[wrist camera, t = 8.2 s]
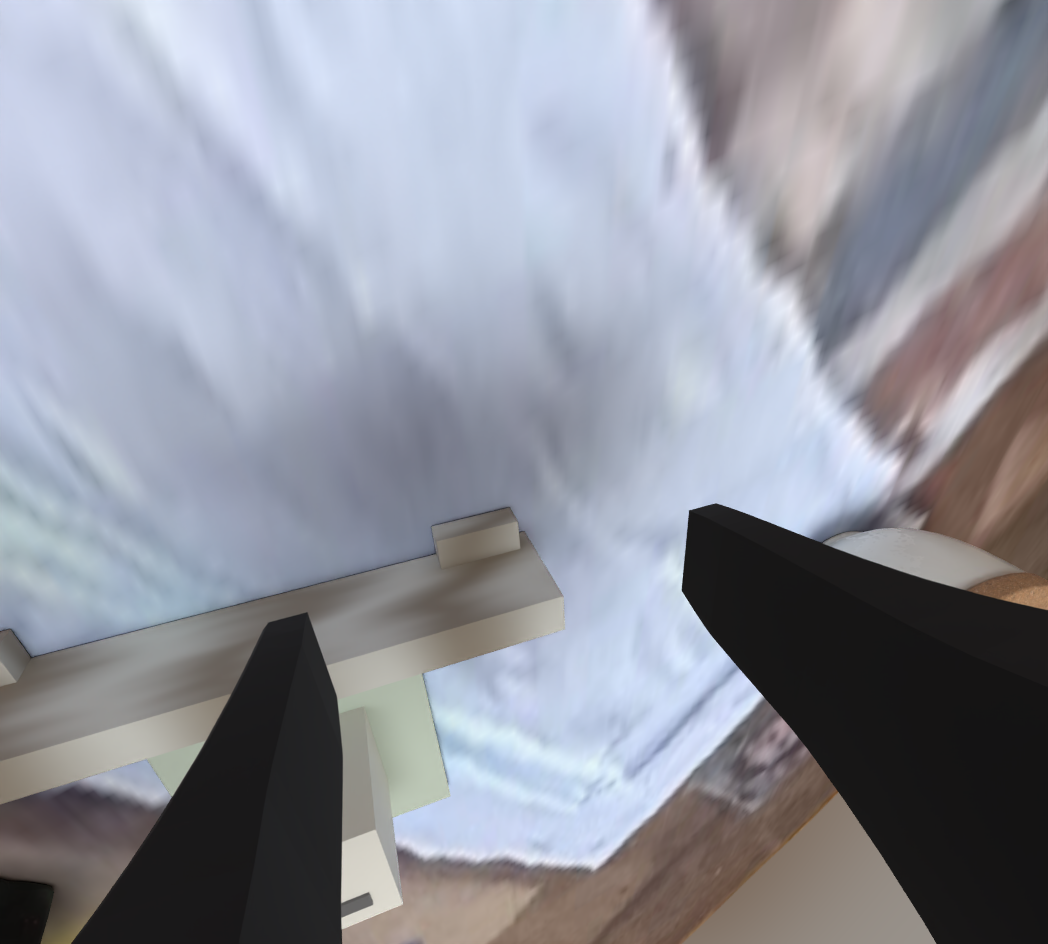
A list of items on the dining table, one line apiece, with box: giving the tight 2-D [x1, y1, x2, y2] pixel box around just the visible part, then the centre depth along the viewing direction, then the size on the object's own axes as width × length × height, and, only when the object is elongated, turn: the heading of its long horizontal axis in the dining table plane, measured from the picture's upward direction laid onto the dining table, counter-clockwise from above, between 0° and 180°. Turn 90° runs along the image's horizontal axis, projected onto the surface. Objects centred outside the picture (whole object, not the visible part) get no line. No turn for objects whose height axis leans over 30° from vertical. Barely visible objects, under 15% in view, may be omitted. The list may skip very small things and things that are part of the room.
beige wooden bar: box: [0, 507, 565, 804], centre depth 18 cm, size 20×4×4 cm, turn 95°
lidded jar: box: [823, 528, 1048, 610], centre depth 26 cm, size 11×11×9 cm
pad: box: [147, 674, 450, 818], centre depth 23 cm, size 10×10×1 cm
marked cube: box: [339, 706, 403, 929], centre depth 20 cm, size 5×5×5 cm
